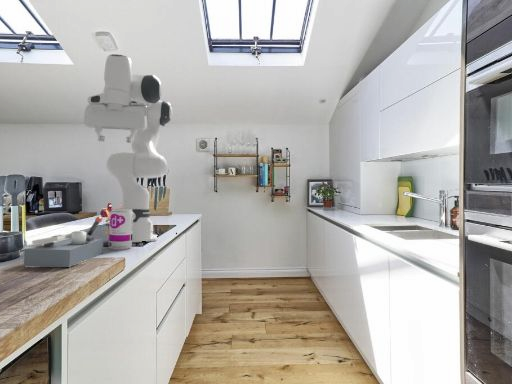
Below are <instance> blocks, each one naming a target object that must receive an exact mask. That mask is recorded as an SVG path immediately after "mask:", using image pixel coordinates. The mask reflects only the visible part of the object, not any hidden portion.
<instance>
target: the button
mask: <svg viewBox="0 0 512 384" xmlns="http://www.w3.org/2000/svg"><path fill="white" fill-rule="evenodd" d="M86 237H87V231H85V230H76V231H73V232H71V237H70V238H71V244H73V245H81V244H86Z"/></svg>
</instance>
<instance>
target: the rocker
mask: <svg viewBox="0 0 512 384" xmlns="http://www.w3.org/2000/svg"><path fill="white" fill-rule="evenodd" d="M65 238H66V235H65V234H63V235H62V234H58V235H53V236H51V237H45V238H39V239H35V240H32V241H31V243H32V245H37V244H38V245H39V244H42V243H43V244H44V243H50V242H54V241H57V240H61V239H65Z"/></svg>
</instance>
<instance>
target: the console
mask: <svg viewBox="0 0 512 384" xmlns="http://www.w3.org/2000/svg"><path fill="white" fill-rule="evenodd" d="M71 238H72V237H65V238H64V239H60V240H55V241H49V242H45V243H43V244H42V243H41V244H38V245H33V246H30V247H28V248H24V254H23V256H24V259H23V267H24V266H40V267H70V266H72V265H74V264H77V263H79V262H81V261H84V260H86V259H89V260H91V259H94V258H95V257H98V256H100V255H103V252H104V238H95V237H92V236H89V237H88V236H86V244H81V245H73V244H71ZM90 258H91V259H90ZM84 262H85V261H84Z"/></svg>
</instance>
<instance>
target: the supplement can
mask: <svg viewBox="0 0 512 384" xmlns="http://www.w3.org/2000/svg"><path fill="white" fill-rule="evenodd" d="M108 225H109V228H108V229H109V230H108V248H109V249H110V250H115V251H119V250H120V251H121V250H122V251H123V250H129V249H131V248H132V247H133V242H132V232H133V212H132V209H122V208H111V211H110V212H109V224H108Z"/></svg>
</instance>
